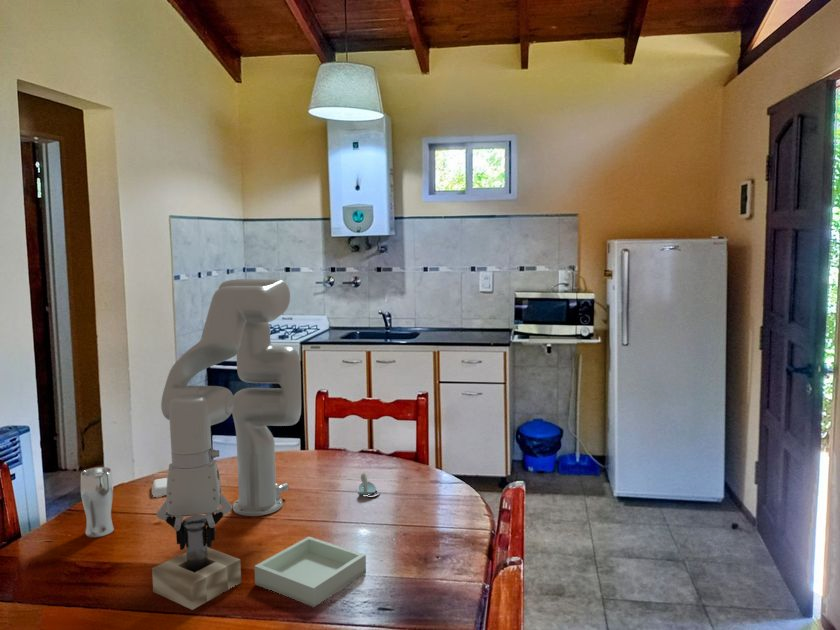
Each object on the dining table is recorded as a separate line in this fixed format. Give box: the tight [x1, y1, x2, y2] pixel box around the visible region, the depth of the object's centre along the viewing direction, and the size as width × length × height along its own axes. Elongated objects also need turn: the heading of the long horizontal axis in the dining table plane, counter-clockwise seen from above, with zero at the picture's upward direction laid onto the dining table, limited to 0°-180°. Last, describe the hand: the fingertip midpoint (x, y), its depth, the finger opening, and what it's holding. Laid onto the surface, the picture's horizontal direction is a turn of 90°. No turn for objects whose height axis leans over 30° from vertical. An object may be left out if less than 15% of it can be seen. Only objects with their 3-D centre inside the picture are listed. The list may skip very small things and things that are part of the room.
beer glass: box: [80, 466, 115, 538], centre depth 160 cm, size 7×7×15 cm
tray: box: [254, 536, 367, 608], centre depth 138 cm, size 16×16×4 cm
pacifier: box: [357, 472, 377, 496], centre depth 183 cm, size 7×6×6 cm
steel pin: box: [182, 514, 208, 573], centre depth 135 cm, size 5×5×11 cm
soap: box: [151, 477, 167, 498], centre depth 187 cm, size 9×7×3 cm
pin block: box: [151, 546, 242, 611], centre depth 135 cm, size 12×12×5 cm
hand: (196, 544), depth 135 cm, fingers closed on steel pin, 4 cm apart
